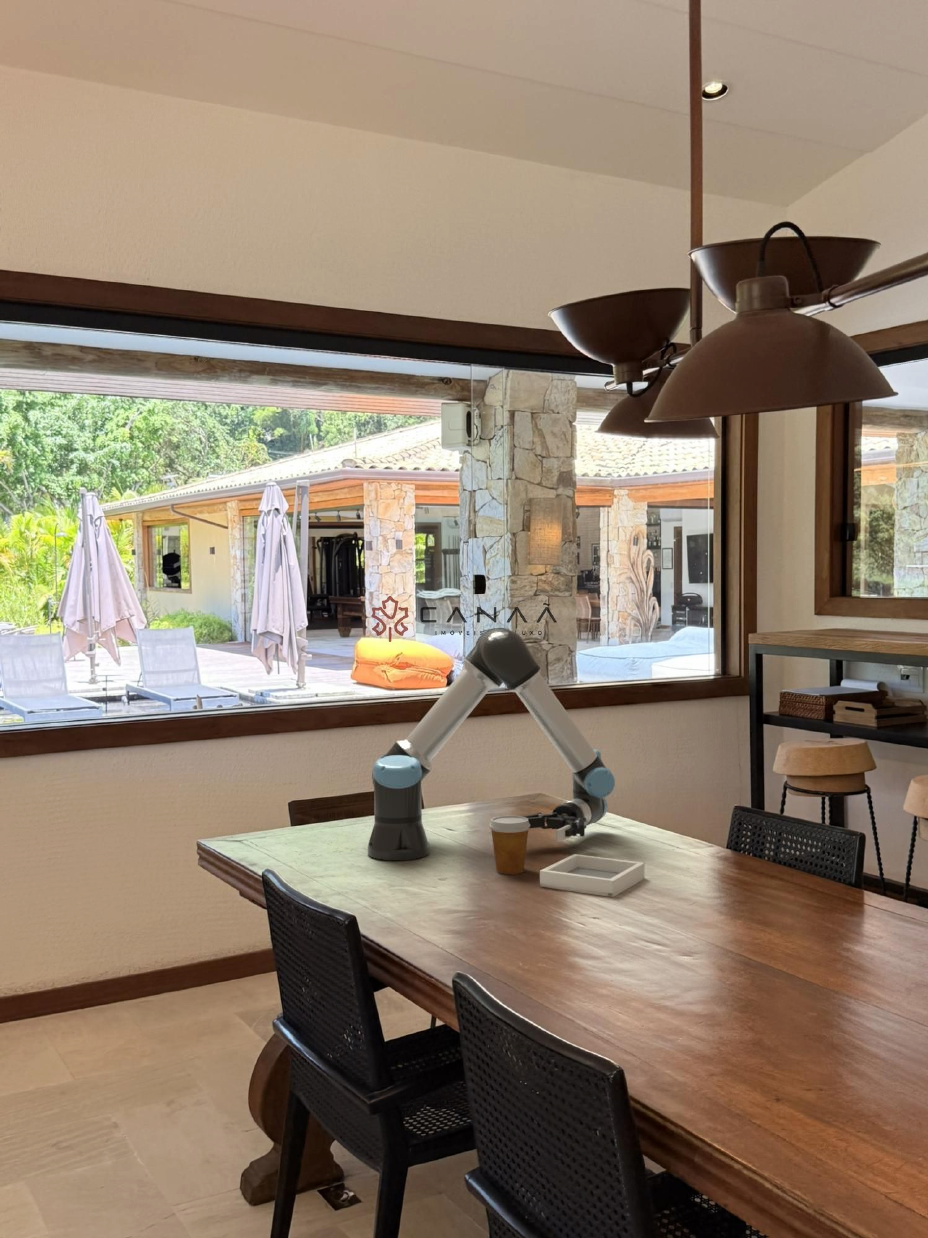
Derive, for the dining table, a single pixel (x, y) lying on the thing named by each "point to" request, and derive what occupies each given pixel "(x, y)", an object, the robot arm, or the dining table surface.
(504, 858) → the disposable coffee cup
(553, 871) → the square well
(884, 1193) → the dining table surface
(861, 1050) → the dining table surface
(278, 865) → the dining table surface
